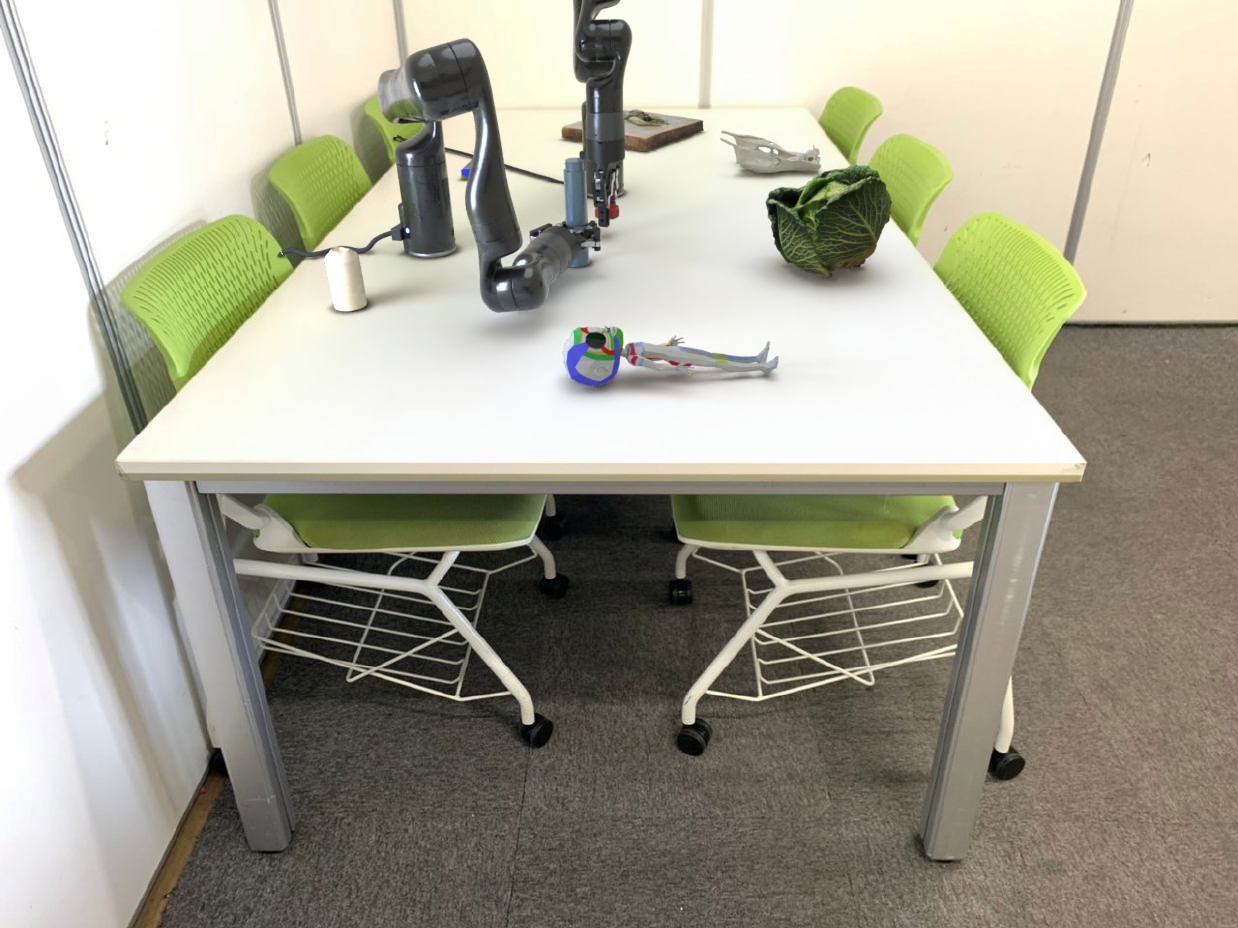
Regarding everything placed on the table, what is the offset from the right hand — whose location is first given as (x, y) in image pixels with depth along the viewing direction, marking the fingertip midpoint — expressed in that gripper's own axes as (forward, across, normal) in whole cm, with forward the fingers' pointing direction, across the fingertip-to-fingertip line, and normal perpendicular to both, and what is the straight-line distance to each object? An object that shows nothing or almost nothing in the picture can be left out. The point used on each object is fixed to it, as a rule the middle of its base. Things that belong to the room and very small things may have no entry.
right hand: (607, 222), depth 181 cm
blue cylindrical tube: (+3, +17, -2) cm, 17 cm away
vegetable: (+3, +11, +44) cm, 45 cm away
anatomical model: (+2, -57, +27) cm, 64 cm away
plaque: (+2, -90, -15) cm, 91 cm away
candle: (+3, +45, -34) cm, 56 cm away
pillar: (+2, -45, -46) cm, 65 cm away
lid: (-3, 0, 0) cm, 3 cm away
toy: (+4, +60, +24) cm, 64 cm away
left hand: (-4, +14, -1) cm, 15 cm away
